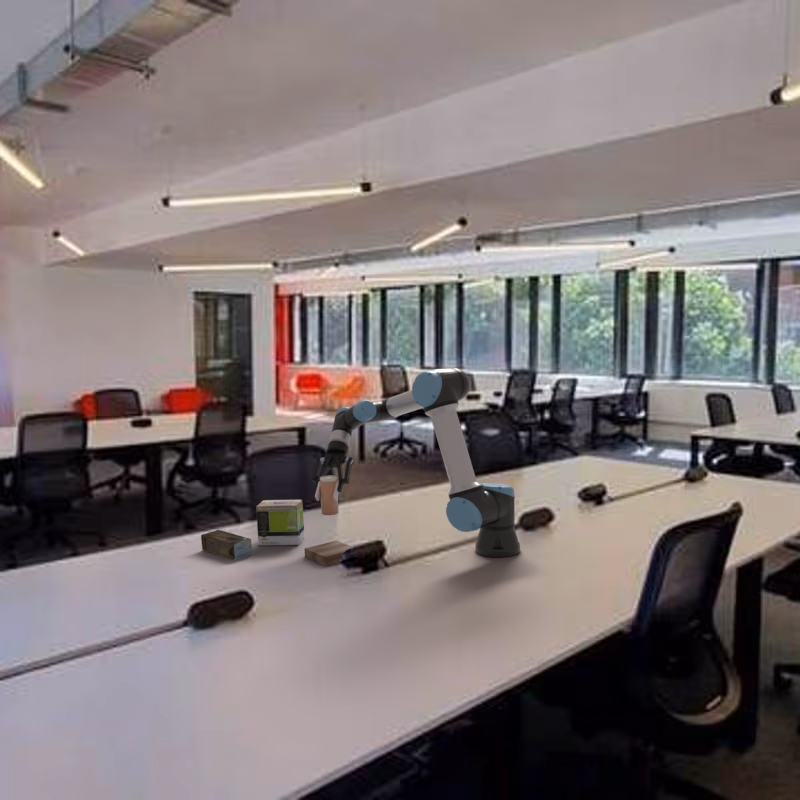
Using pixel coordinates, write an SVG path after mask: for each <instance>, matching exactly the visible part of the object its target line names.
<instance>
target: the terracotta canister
mask: <svg viewBox="0 0 800 800" xmlns="http://www.w3.org/2000/svg"><path fill="white" fill-rule="evenodd" d="M337 481H338V475H331V474H330V475H329V474H328V475H326V476H321V477H320V491H321V495H320V505H321V506H320V508H321V515H322V516H334V515H338V514H339V498H338V499H337V501H334V499H333V494H334V490H335V486H336V482H337Z"/></svg>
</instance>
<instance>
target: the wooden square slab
mask: <svg viewBox="0 0 800 800" xmlns="http://www.w3.org/2000/svg"><path fill="white" fill-rule="evenodd" d="M353 547H354V546H352V545H350V544H347V543H344V542H340V541H339V540H334V541H329V542H325V543H321V544H317V545H313V546H308V547H305V548H304V558H306V559H308V560H311V561H313V562H316V563H318V564H321V565H323V566H330V565H334V564H339V563H341V562H340V556H341V554H342V553H344V552H345V551H346V550H348V549H350V548H353Z"/></svg>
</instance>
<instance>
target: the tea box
mask: <svg viewBox="0 0 800 800" xmlns="http://www.w3.org/2000/svg"><path fill="white" fill-rule="evenodd" d="M255 508H256V510H255V512H256V527H257V528H256V530H257V543H258V546H299V545H300V544H301V543H302V541H304V539H305V524H304V523H305V522H304V519H305V518H304V506H303V499H266V500H265V499H264V500H262V501H261V502H260V503H259V504H258V505H256V506H255Z"/></svg>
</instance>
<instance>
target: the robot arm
mask: <svg viewBox="0 0 800 800" xmlns="http://www.w3.org/2000/svg"><path fill="white" fill-rule="evenodd" d="M470 388H471V383H470V379H469V376H468V375H467V373H465V372H464V371H463V370H462V369H460V368H455V367H448V368H435V369H428V370H424V371H421V372H419V374H417V376H416V377H415V378H414V381H413V383H412V386H411V389H410V390H407V391H405V392H402V393H399V394H396V395H394V396H391V397H389V398H385V399H383V400H377V401H371V400H368V399H362V400H360V401H358V402H357V403H355V404H354V405H352V406H351V407H340V408H339V409H337V411H336V414H335V416H334V419H333V423H332V428H331V432H330V437H329V441H328V445H327V448H326V453H325V455H324V457H320V456H318V457H316V463H315V464H316V465H315V468H314V469H313V473H312V476H311V480H312V482H313V484H315V486H314V491H315V495H314V498H315V500H316V502H319V501H320V500H321V491H320V477H321V476H327V474H328V473H329V472H330V471H331V469H333V468H335V469H337V482H336V486H335V490H334V494H333V499H334V501H337V499H338V500H339V495H340V493H341V492H342V491H343V487H344V485H346V484H349V483H350V478H351V471H352V466H353V465H354V463H355V462H354V460H353V457H352V456H350V457H347V456H348V453H349V447H350V443H351V440H352V439H351V438H352V435H353V432H354V430H356V429H358V428H360V427H361V426H363V425H366V424H371V423H376V422H377V423H378V422H383V421H390V420H394V419H396V418H398V417H400V416H402V415H405V414H408V413H411V412H415V411H417V410H420V409H423V411H424V414H425V415H426V416H428V417H429V418H430V419H431V421H432V422H431V423H432V425H433V429H434V432H435V437H436V440H437V443H438V446H439V449H440V454H441V457H442V460H443V464H444V467H445V468H444V469H445V471H446V475H447V478H448V481H449V485H450V490H449V491H448V493H447V494H448V498H449V501H448V502H447V503H446V507H445V515H446V517H447V520H448V522H449V523H450V525H451V526H452V527H453V528H454V529H456V530H458V531H459V532H463V533H468V532H474V531H478V530H479V532H478V535H477V539H476V542H475V548H474V549H475V550H474V551H475V553H477V554H478V555H480V556H484V557H489V558H506V557H507V558H509V557H513V556H516V555H518V554H520V553H521V543H520V541H519V538H518V536H517V535H518V534H517V532H516V529H515V527H516V525H515V523H516V522H515V521H516V520H515V519H516V518H515V510H516V509H515V498H516V496H515V489H514V487H513V486H512V485H510V484H506V483H494V482H483V483H481V482H480V481H478V480H477V478H476V474H475V471H474V468H473V464H472V460H471V458H470V454H469V451H468V447H467V445H466V444H467V443H466V440H465V437H464V434H463V430H462V426H461V423H460V420H459V417H458V416H459V415H458V413H457V409H458V407H459V405H460V403H459V401H461V400H463V399H464V398H466V396H467V395H468V394H469V391H470ZM324 462H325V463H324ZM345 463H346V464H345ZM323 464H324V466H323ZM344 464H345V470H344V472H343V465H344ZM322 467H323V468H322ZM343 473H344V474H343Z"/></svg>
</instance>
